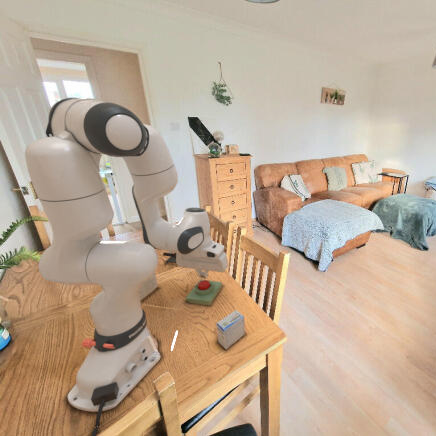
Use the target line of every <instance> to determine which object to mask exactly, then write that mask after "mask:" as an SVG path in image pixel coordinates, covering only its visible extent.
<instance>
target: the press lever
mask: <svg viewBox="0 0 436 436" xmlns="http://www.w3.org/2000/svg"><path fill="white" fill-rule="evenodd" d="M162 256H164V257H169V258H170V257H175V256H176V254H174V252H169V251H168V252H166V251H165V252H163V253H162Z"/></svg>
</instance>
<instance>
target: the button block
mask: <svg viewBox="0 0 436 436" xmlns="http://www.w3.org/2000/svg"><path fill="white" fill-rule="evenodd" d="M203 280H204V279H199V280H198V282H196V284H195V285H194V286H193V288H192V289H191V290H190V292H189V293H188V294H187V295H186V297H185V301H186V303H189V304H194V305H195V304H197V305H203V306H211V304H212V303H213V302H214V300H215V298H216V297H217V296H218V294H219V292H220V291H221V289H222V287H223V282H222V281H214V280H207V279H206V280H207V281H209V283H210V287H209V288H208V289H206V290H200V289H199V287H198V283H199V282H201V281H203Z"/></svg>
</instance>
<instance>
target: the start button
mask: <svg viewBox="0 0 436 436" xmlns="http://www.w3.org/2000/svg"><path fill="white" fill-rule="evenodd" d="M202 280H203V281H201V282H199V281H198V282H199V283H198V282H197V283H198V287H199V289H200V290H206V289H208V288H209V287H210V283H209V281H210V280H208V281H207V279H202Z"/></svg>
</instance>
